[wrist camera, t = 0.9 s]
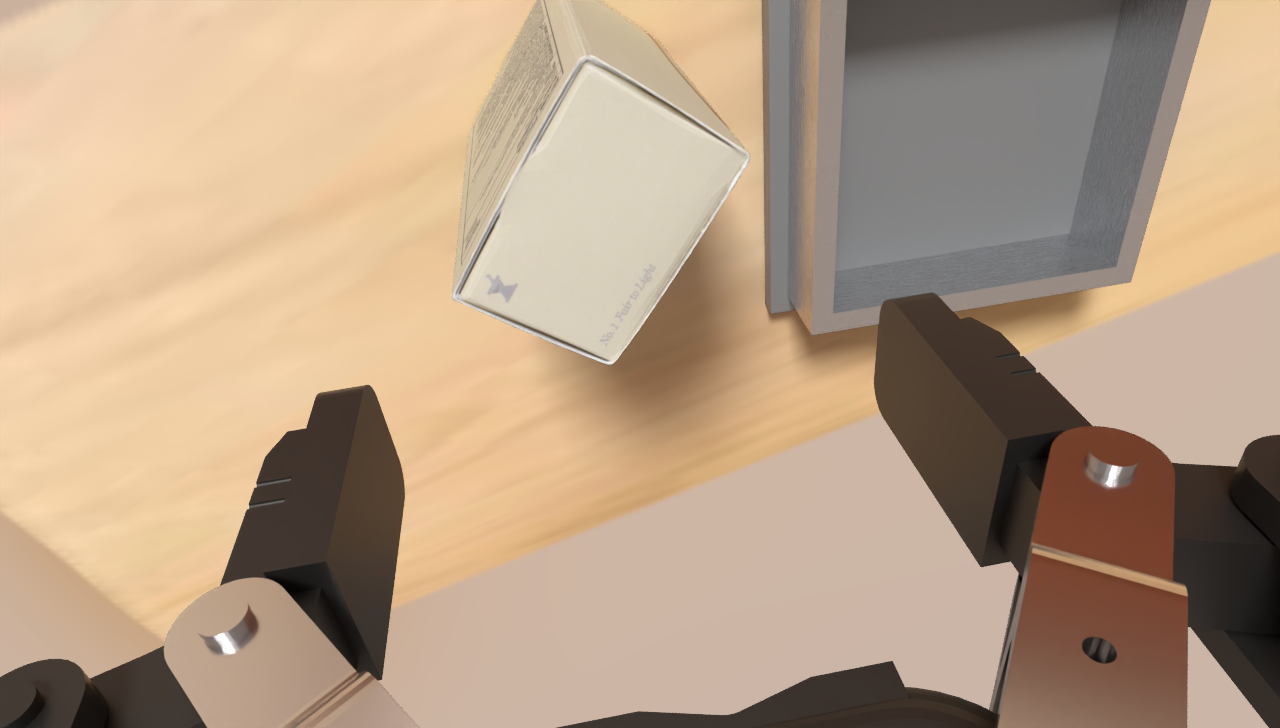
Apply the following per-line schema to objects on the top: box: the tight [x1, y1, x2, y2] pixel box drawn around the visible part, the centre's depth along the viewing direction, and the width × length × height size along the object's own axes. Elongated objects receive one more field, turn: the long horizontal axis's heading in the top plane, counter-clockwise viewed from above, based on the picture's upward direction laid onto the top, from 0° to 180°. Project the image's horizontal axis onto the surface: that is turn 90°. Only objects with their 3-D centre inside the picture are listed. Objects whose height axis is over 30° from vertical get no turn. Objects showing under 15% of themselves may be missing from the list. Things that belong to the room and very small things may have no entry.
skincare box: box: [452, 0, 750, 365], centre depth 22 cm, size 6×4×12 cm
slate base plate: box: [762, 0, 1122, 314], centre depth 30 cm, size 14×14×1 cm
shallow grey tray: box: [788, 0, 1211, 335], centre depth 28 cm, size 13×13×3 cm
